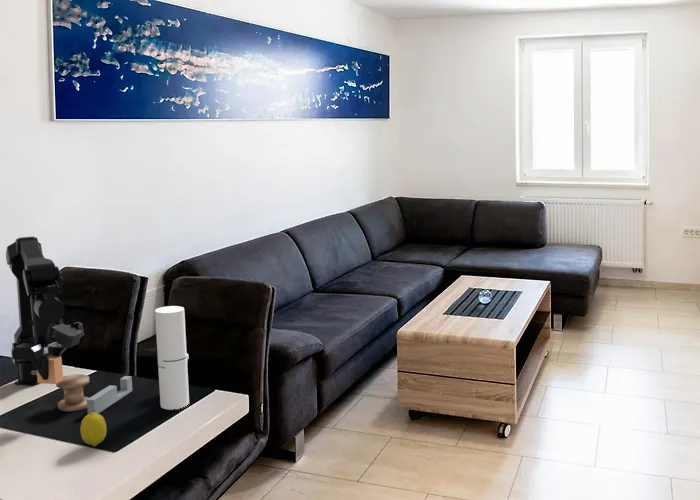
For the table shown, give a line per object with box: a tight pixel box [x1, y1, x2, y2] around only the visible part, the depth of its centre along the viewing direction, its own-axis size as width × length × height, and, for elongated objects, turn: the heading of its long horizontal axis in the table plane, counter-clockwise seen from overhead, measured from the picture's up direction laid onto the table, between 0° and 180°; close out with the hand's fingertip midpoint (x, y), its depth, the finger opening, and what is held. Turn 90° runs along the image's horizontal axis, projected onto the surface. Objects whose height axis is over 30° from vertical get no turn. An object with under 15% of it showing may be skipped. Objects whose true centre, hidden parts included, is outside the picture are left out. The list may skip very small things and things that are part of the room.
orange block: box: [31, 356, 64, 385], centre depth 181 cm, size 7×3×6 cm, turn 76°
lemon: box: [79, 412, 108, 447], centre depth 166 cm, size 6×6×8 cm
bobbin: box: [55, 373, 90, 412], centre depth 191 cm, size 8×8×7 cm
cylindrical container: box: [154, 305, 190, 411], centre depth 189 cm, size 7×7×25 cm
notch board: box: [86, 375, 133, 415], centre depth 193 cm, size 2×18×4 cm, turn 166°
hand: (50, 377), depth 181 cm, fingers closed on orange block, 3 cm apart
